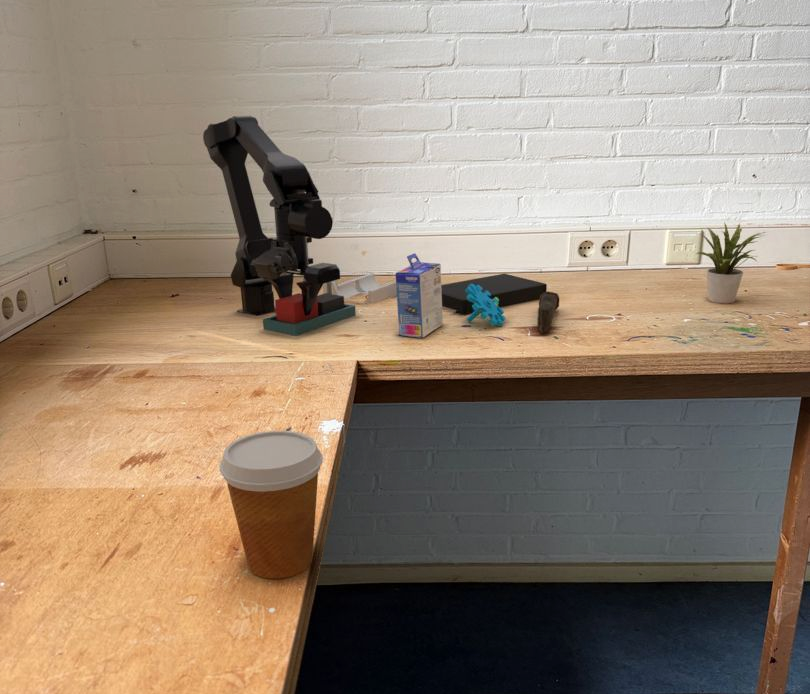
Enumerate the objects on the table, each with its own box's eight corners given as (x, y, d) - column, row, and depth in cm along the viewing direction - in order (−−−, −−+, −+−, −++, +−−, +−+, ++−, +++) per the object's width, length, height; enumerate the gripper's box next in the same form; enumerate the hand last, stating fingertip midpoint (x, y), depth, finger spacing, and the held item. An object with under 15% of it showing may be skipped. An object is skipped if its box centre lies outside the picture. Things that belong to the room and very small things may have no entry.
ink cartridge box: (417, 322, 158) (416, 249, 153) (443, 325, 156) (442, 251, 151) (396, 335, 150) (394, 259, 145) (423, 338, 147) (421, 260, 142)
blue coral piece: (494, 324, 149) (462, 283, 151) (472, 343, 152) (441, 302, 154) (517, 318, 158) (487, 279, 160) (496, 336, 161) (467, 298, 163)
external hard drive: (422, 301, 174) (422, 288, 172) (503, 286, 186) (503, 273, 185) (463, 314, 162) (463, 300, 161) (546, 297, 175) (547, 283, 174)
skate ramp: (372, 305, 171) (371, 282, 170) (323, 298, 178) (322, 276, 176) (409, 291, 183) (408, 269, 182) (362, 285, 190) (361, 264, 188)
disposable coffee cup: (211, 578, 75) (197, 463, 71) (262, 529, 84) (252, 423, 80) (300, 597, 72) (291, 478, 68) (345, 544, 80) (339, 435, 76)
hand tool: (539, 309, 165) (540, 287, 164) (559, 310, 164) (559, 288, 163) (527, 335, 148) (527, 311, 147) (549, 336, 147) (550, 311, 145)
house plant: (763, 312, 159) (774, 230, 153) (689, 308, 163) (697, 227, 157) (758, 295, 171) (768, 219, 166) (689, 292, 176) (697, 217, 170)
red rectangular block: (276, 320, 154) (274, 300, 153) (299, 312, 159) (298, 293, 158) (295, 323, 151) (293, 303, 150) (318, 316, 156) (317, 296, 155)
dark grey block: (305, 319, 160) (303, 299, 159) (326, 312, 165) (325, 293, 164) (323, 322, 158) (322, 302, 156) (344, 315, 162) (343, 296, 161)
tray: (263, 331, 154) (262, 319, 153) (324, 311, 168) (323, 300, 167) (295, 338, 149) (294, 325, 149) (356, 317, 163) (355, 305, 162)
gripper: (224, 234, 149) (233, 315, 154) (297, 243, 138) (303, 330, 143) (268, 226, 157) (274, 303, 162) (339, 234, 147) (344, 316, 152)
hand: (297, 313), depth 155 cm, fingers closed on red rectangular block, 5 cm apart
